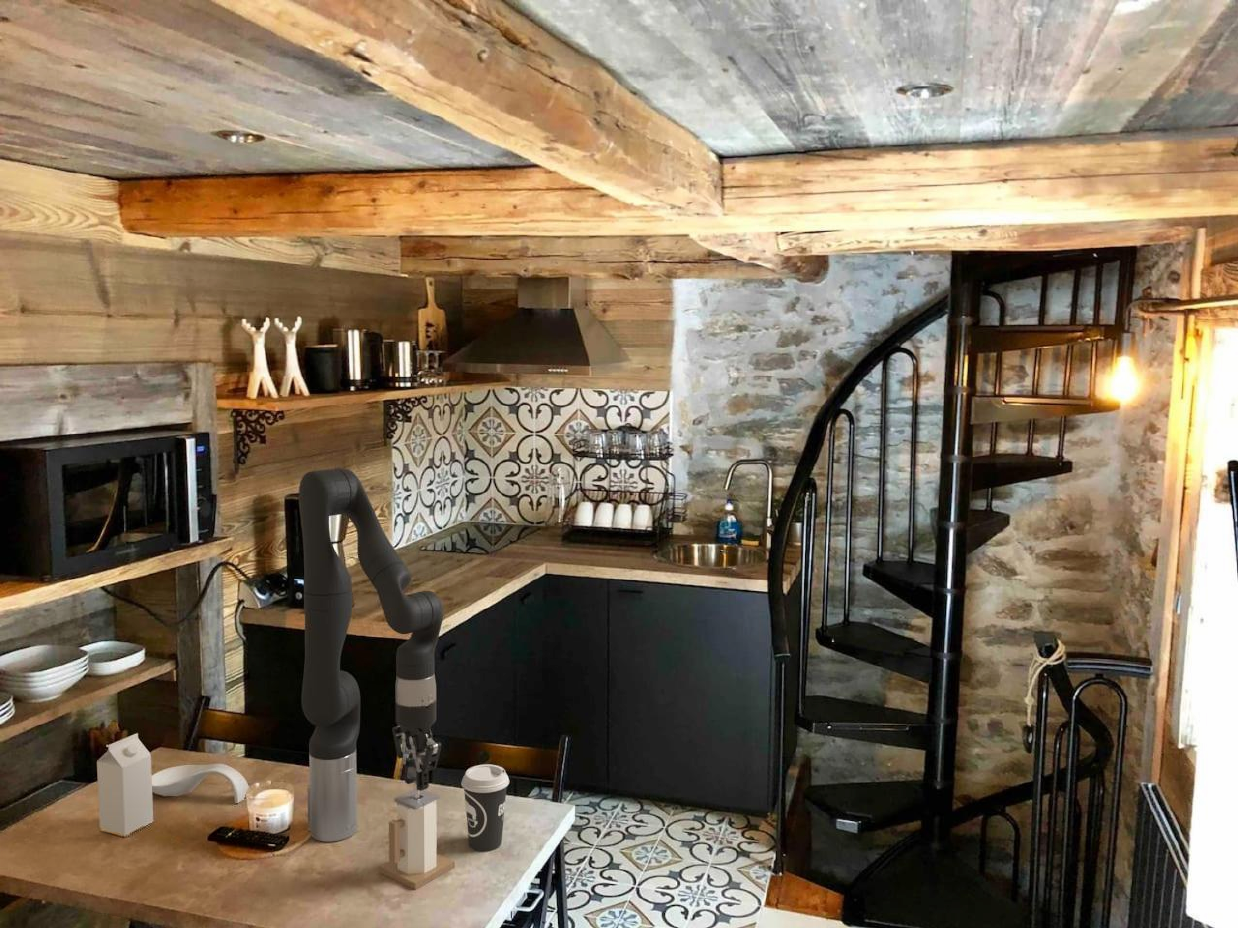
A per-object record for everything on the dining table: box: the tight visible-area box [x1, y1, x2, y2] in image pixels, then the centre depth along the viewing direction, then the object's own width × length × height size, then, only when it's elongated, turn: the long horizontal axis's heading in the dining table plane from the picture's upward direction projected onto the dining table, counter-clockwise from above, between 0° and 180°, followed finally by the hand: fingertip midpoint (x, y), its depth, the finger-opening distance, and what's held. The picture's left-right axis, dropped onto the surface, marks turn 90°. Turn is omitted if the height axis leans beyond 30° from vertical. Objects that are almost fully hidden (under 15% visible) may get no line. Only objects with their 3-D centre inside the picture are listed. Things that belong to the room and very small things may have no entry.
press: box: [379, 789, 456, 890], centre depth 188 cm, size 10×11×15 cm
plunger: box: [407, 761, 423, 800], centre depth 188 cm, size 5×5×14 cm
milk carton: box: [96, 732, 154, 835], centre depth 204 cm, size 7×7×19 cm
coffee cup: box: [461, 763, 510, 852], centre depth 199 cm, size 10×10×15 cm
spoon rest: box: [151, 763, 250, 804], centre depth 220 cm, size 24×12×7 cm, turn 77°
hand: (416, 785), depth 188 cm, fingers closed on plunger, 3 cm apart
